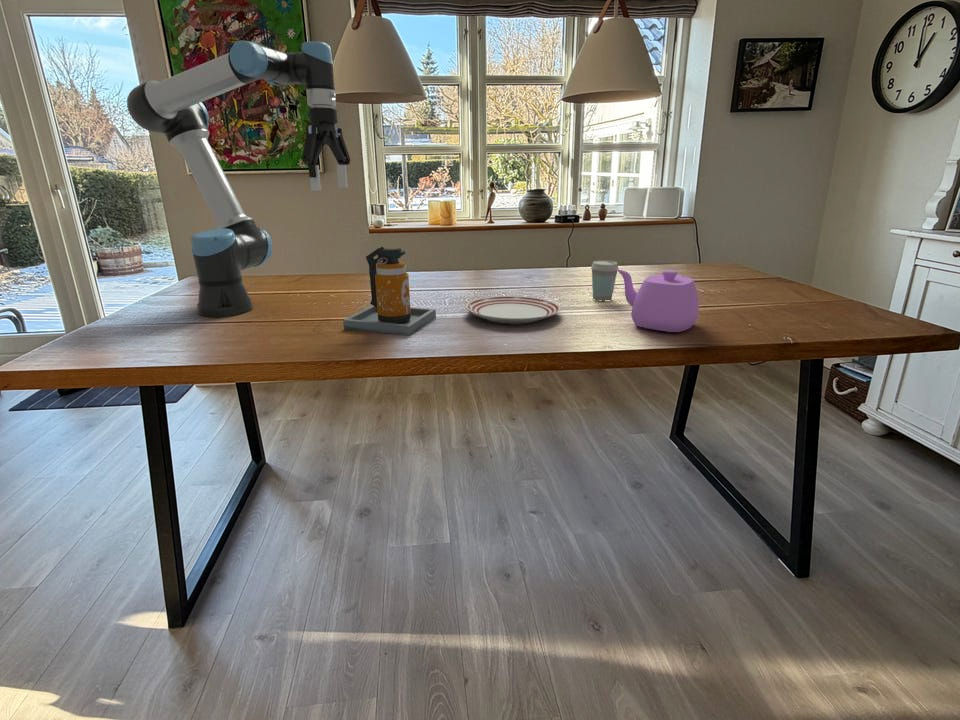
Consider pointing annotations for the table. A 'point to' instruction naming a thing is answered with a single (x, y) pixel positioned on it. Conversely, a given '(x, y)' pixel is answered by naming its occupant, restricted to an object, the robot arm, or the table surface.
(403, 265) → the canister
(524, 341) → the table surface
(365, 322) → the tray
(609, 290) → the coffee cup
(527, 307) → the dinner plate
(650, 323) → the teapot
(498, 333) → the table surface
